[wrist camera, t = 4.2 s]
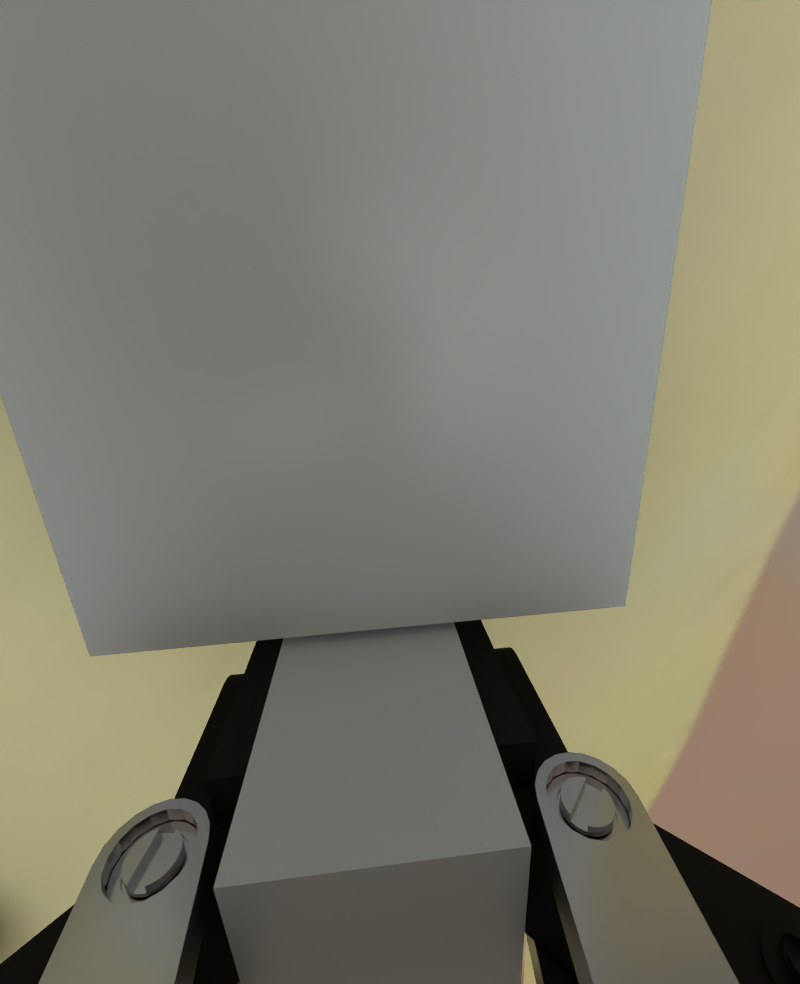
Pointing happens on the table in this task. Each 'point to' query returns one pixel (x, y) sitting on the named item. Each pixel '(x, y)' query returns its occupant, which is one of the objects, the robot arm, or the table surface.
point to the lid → (345, 398)
